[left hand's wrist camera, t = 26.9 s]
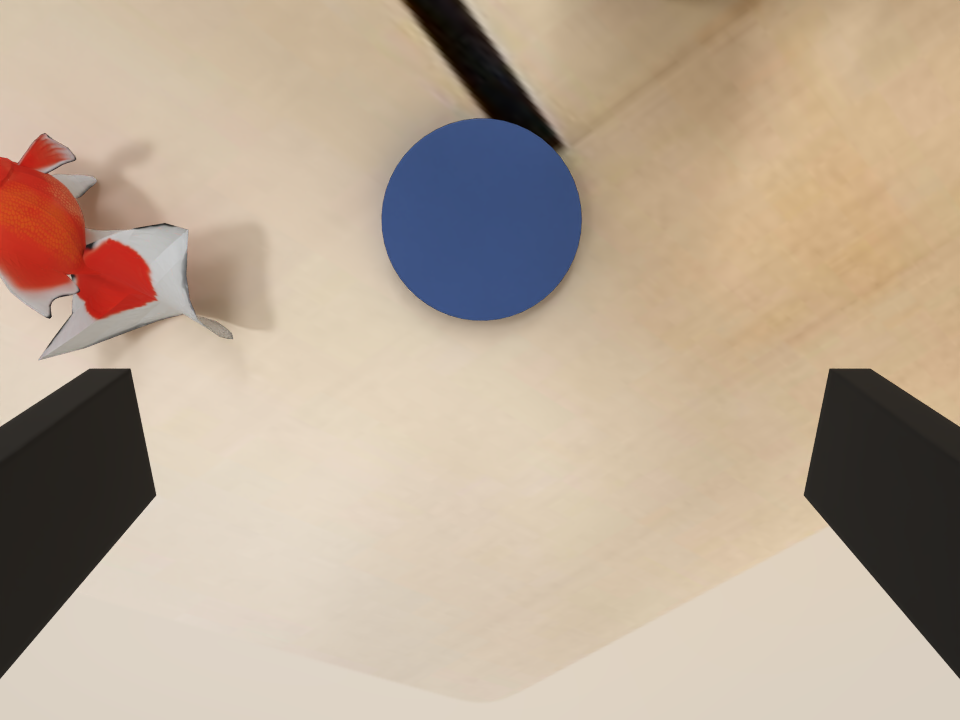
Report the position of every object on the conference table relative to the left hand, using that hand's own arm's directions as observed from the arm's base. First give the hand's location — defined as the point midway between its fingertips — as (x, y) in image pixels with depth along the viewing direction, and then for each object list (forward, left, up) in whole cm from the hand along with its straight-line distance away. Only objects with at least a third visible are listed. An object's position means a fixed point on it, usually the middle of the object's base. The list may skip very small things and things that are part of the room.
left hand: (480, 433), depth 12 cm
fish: (-20, -1, -27) cm, 34 cm away
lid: (0, 0, -26) cm, 26 cm away
